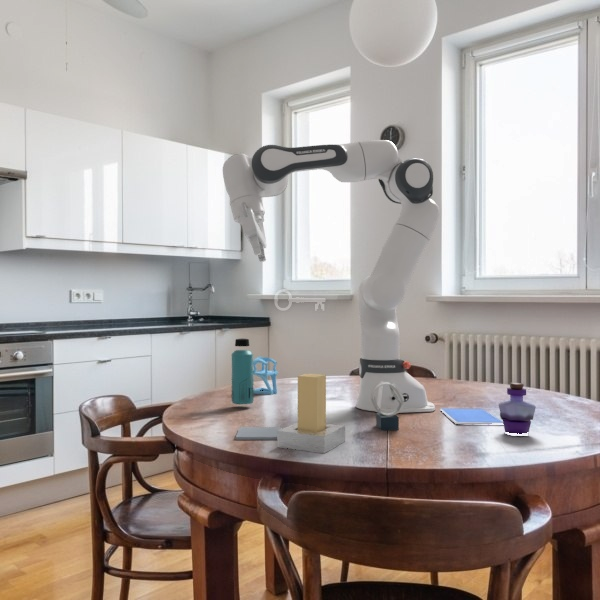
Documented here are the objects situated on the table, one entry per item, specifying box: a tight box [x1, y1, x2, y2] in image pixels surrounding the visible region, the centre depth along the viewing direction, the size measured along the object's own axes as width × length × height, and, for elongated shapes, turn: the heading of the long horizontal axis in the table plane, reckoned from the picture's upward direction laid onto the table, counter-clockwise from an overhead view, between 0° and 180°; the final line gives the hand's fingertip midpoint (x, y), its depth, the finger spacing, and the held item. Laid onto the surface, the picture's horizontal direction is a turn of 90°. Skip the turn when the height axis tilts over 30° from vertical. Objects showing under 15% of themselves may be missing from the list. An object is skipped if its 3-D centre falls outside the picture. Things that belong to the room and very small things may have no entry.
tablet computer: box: [439, 408, 503, 425], centre depth 154 cm, size 19×13×1 cm, turn 178°
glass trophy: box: [371, 382, 404, 432], centre depth 141 cm, size 6×8×11 cm
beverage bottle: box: [230, 338, 255, 405], centre depth 167 cm, size 6×7×20 cm
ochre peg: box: [297, 373, 327, 433], centre depth 125 cm, size 5×5×15 cm
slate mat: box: [235, 426, 282, 441], centre depth 134 cm, size 10×10×1 cm
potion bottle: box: [498, 382, 536, 434], centre depth 135 cm, size 9×9×12 cm
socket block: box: [276, 421, 346, 454], centre depth 125 cm, size 11×11×4 cm
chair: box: [253, 356, 279, 395], centre depth 193 cm, size 8×8×12 cm
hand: (260, 257), depth 159 cm, fingers open, 8 cm apart
